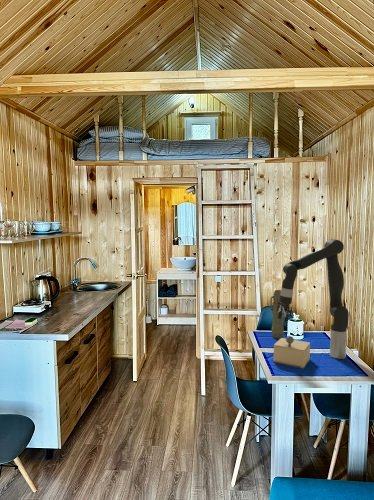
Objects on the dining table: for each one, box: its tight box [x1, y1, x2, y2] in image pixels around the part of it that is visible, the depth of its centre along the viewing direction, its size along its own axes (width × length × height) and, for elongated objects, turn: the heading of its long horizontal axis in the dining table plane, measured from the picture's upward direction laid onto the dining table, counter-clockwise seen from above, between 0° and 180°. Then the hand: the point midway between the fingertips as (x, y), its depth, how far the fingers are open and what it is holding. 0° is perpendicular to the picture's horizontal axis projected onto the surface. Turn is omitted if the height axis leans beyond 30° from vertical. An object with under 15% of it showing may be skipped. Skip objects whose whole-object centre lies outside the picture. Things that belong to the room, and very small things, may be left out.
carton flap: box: [273, 335, 311, 351], centre depth 225 cm, size 18×16×7 cm
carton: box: [273, 344, 311, 369], centre depth 225 cm, size 18×16×10 cm
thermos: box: [269, 289, 285, 339], centre depth 273 cm, size 9×12×35 cm
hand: (282, 320), depth 231 cm, fingers open, 8 cm apart
